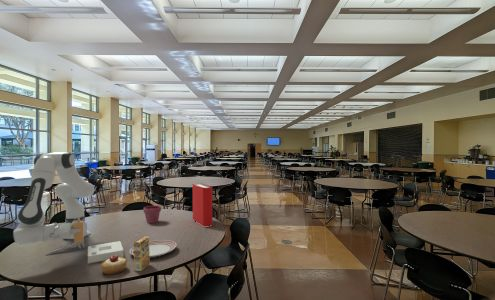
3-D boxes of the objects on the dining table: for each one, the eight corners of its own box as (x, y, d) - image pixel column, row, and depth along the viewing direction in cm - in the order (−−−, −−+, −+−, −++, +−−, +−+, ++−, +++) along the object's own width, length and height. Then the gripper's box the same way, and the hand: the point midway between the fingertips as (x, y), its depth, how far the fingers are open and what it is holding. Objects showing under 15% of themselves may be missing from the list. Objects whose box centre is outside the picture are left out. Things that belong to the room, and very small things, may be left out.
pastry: (125, 264, 150) (125, 248, 151) (127, 273, 140) (127, 255, 140) (100, 268, 145) (101, 251, 145) (100, 277, 134) (101, 259, 135)
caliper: (84, 248, 175) (84, 238, 175) (84, 248, 174) (84, 238, 174) (44, 255, 164) (44, 244, 164) (44, 255, 163) (44, 245, 163)
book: (192, 220, 241) (192, 183, 241) (201, 218, 245) (201, 183, 245) (203, 227, 218) (203, 187, 217) (213, 226, 222) (212, 187, 221)
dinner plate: (119, 260, 156) (119, 254, 156) (144, 243, 183) (144, 238, 183) (165, 262, 152) (165, 256, 152) (183, 245, 180) (183, 240, 180)
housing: (88, 252, 167) (87, 245, 167) (120, 247, 176) (120, 240, 176) (87, 263, 151) (87, 255, 151) (123, 256, 160) (123, 249, 160)
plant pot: (152, 219, 245) (152, 204, 245) (164, 220, 239) (164, 206, 239) (140, 223, 232) (139, 208, 232) (152, 224, 226) (152, 209, 226)
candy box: (141, 271, 141) (140, 242, 141) (133, 271, 141) (133, 241, 141) (149, 264, 150) (149, 236, 149) (142, 264, 150) (142, 236, 150)
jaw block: (74, 240, 158) (74, 218, 157) (83, 239, 160) (83, 217, 160) (74, 242, 154) (73, 219, 153) (83, 241, 156) (83, 218, 156)
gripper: (48, 231, 141) (80, 227, 148) (53, 222, 159) (81, 219, 166) (48, 243, 141) (80, 239, 148) (53, 232, 159) (81, 229, 166)
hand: (80, 228), depth 157 cm, fingers closed on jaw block, 4 cm apart
